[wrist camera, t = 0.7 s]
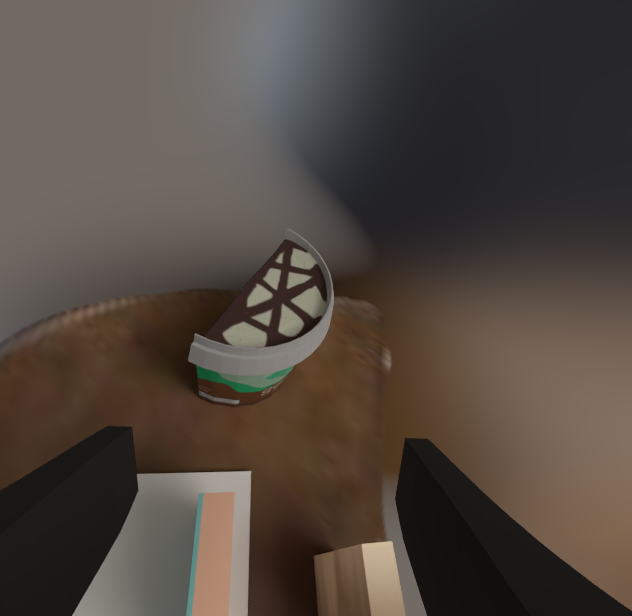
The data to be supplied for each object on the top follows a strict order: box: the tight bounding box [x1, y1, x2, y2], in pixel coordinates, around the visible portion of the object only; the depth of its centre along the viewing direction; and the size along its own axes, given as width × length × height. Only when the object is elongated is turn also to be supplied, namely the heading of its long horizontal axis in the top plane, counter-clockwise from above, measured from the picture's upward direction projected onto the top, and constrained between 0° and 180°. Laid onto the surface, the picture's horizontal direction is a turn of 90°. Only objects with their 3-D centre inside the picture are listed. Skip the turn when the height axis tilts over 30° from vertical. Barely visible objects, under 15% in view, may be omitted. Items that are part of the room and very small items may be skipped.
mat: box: [72, 471, 251, 616], centre depth 18 cm, size 12×12×1 cm
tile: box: [185, 492, 235, 616], centre depth 17 cm, size 7×2×7 cm, turn 5°
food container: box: [188, 229, 334, 407], centre depth 25 cm, size 12×6×10 cm, turn 157°
